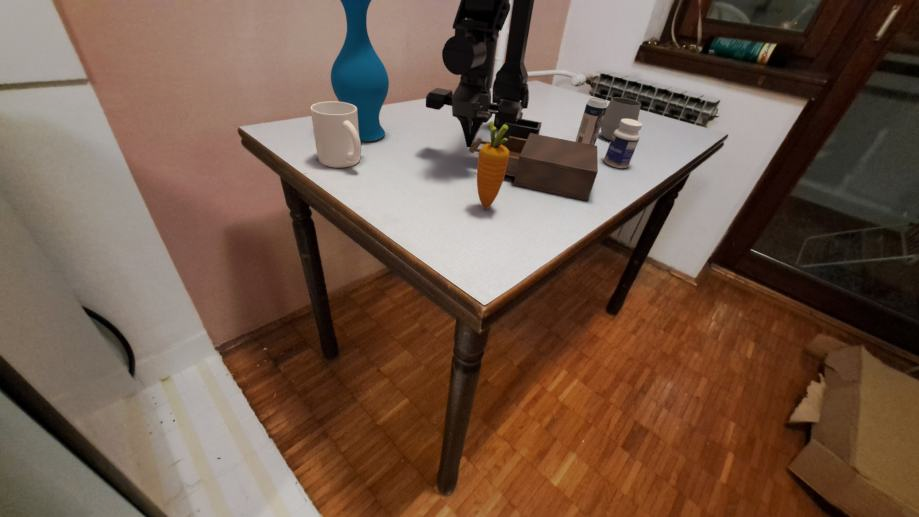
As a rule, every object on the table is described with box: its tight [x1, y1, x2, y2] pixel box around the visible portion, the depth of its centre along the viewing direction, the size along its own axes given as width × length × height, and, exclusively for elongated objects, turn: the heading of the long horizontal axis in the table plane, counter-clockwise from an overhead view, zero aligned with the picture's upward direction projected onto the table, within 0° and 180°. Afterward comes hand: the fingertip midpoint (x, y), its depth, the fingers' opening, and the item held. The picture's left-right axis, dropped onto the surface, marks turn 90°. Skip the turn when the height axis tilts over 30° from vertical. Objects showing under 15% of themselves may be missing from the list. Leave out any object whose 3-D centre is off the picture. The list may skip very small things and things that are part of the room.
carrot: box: [476, 120, 510, 210], centre depth 59 cm, size 5×5×15 cm
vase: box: [330, 0, 390, 143], centre depth 77 cm, size 12×13×28 cm
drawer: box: [468, 135, 527, 178], centre depth 77 cm, size 18×13×4 cm
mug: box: [310, 100, 362, 169], centre depth 70 cm, size 12×8×10 cm
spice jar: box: [574, 97, 608, 146], centre depth 89 cm, size 5×5×12 cm
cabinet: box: [513, 133, 599, 202], centre depth 75 cm, size 15×15×6 cm
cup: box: [600, 96, 642, 142], centre depth 99 cm, size 10×9×10 cm
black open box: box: [502, 118, 543, 148], centre depth 88 cm, size 8×6×6 cm
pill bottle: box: [603, 119, 643, 169], centre depth 84 cm, size 6×6×10 cm
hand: (468, 146), depth 78 cm, fingers closed
